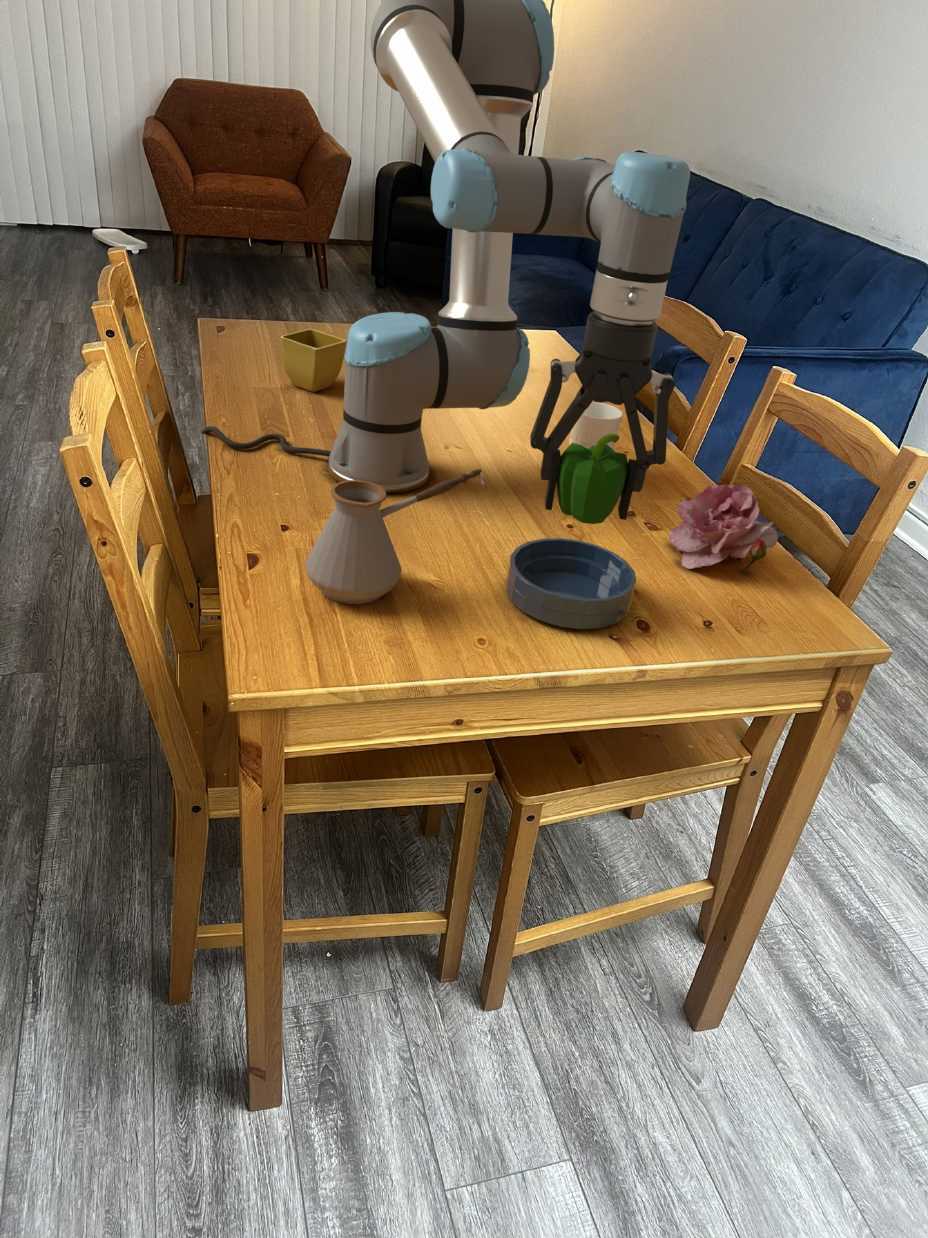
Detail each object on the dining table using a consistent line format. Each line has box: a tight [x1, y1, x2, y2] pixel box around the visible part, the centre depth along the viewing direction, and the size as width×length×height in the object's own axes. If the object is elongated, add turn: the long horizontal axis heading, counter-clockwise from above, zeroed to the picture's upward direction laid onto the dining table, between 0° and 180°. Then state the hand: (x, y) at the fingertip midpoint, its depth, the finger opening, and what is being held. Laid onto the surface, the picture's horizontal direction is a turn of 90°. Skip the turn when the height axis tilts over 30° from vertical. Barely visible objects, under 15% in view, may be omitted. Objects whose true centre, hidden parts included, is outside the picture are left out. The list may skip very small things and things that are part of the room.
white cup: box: [568, 401, 624, 451], centre depth 153 cm, size 8×8×10 cm
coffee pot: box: [305, 468, 487, 605], centre depth 112 cm, size 21×12×15 cm, turn 110°
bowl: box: [505, 537, 637, 630], centre depth 117 cm, size 16×16×4 cm
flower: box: [668, 483, 779, 573], centre depth 130 cm, size 15×15×10 cm
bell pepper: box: [556, 433, 629, 525], centre depth 110 cm, size 8×8×10 cm
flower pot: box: [279, 328, 348, 393], centre depth 171 cm, size 9×9×9 cm
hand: (585, 509), depth 112 cm, fingers closed on bell pepper, 8 cm apart
